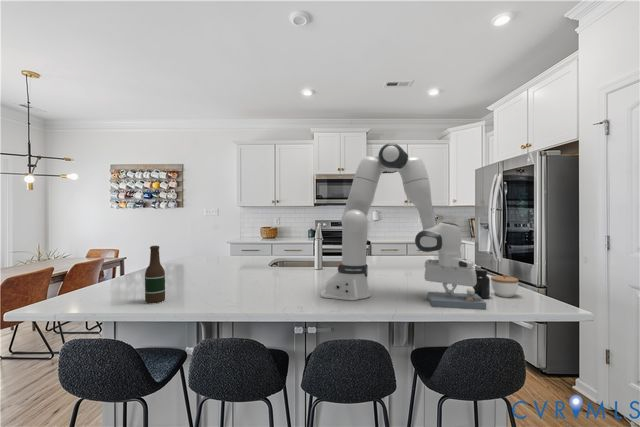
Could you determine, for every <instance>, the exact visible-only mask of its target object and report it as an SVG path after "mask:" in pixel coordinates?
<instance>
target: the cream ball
mask: <svg viewBox="0 0 640 427" xmlns="http://www.w3.org/2000/svg"><path fill="white" fill-rule="evenodd" d="M474 293H475V290H474V289H473V287H470V286H468V287H467V288H466V294H469V295H473V294H474Z"/></svg>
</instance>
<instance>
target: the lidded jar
mask: <svg viewBox="0 0 640 427" xmlns="http://www.w3.org/2000/svg"><path fill="white" fill-rule="evenodd" d="M519 282H520V281H519V279H518V278H517V277H513V276H508V275H506V274H504V273H503V274H502V275H493V276H491V277H490V283H491V284H490V285H491V288H492V290H493V292H494V293H495V294H496V296H498V297H503V298H512V297H513V296H514V295H515V294H516V293H517V292H518V289H519Z"/></svg>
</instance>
